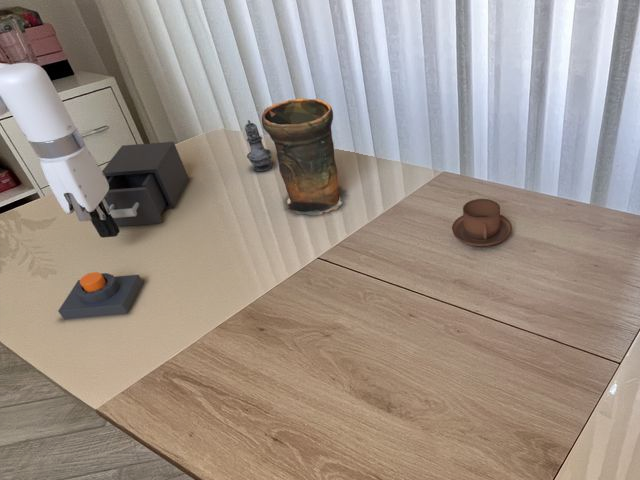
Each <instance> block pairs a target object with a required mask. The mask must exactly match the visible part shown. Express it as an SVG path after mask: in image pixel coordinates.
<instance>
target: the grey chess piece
mask: <svg viewBox="0 0 640 480" xmlns="http://www.w3.org/2000/svg"><path fill="white" fill-rule="evenodd" d="M244 131H245V134H246V137H247V139H246V142H247V143H248V145H249V147H250V152H249V153H247V155H246V158H247V159H248V161H249V162H250V163H251V164H252V165H253V167H252V171H253V172H255V173H266V172H269V171H272V169H273V168H274V166H275V165H274V164H273V163H271V161H272V153H273V152H272V150H270V149H266V148H265V147H264V144H263V141H262V140H263V137H262V136H261V134H260V132H259V129H258V126H257V125H256V123H253V122H251V120H249V119H247V123H246V124H245V125H244Z"/></svg>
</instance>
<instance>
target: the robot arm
mask: <svg viewBox="0 0 640 480" xmlns="http://www.w3.org/2000/svg"><path fill="white" fill-rule="evenodd" d="M8 112H10V114H11V115H12V118H13V119H14V121H15V122H16V124H17V125H18V127H19V129H20V130H21V132H22V134H23V135H24V137H25V138H26V140H27V141H28V143H29V145H30V147H31V148H32V150H33V152H34V153H35V154H36V156H37V158H38V159H39V160H40V161H39V164H40V168H41V170H42V172H43V175H44V177H45V179H46V182H47V183H48V185H49V187H50V189H51V191H52V193H53V195H54V197H55V199H56V200H57V202H58V204H59V205H60V207H61V209H62V210H63V212H64V213H65V214H67V215H71V214H73V213H74V212H75V214H76V217H77V219H78V221H79V222H80V223H82V222H91V223H92V225H93V227H94V229H95V231H96V232H97V233H98V235H99V237H100V238H115V237H118V235H119V233H120V232H121V230H120V228H119V226H117V225H116V223H115V221H114V219H113V217H112V216H111V214H109V213H110V209H109V206H108V204H107V202H106V198H107V195H108V190H109V184H108V182H107V180H106V178H105V176H104V174H103V172H102V171H103V169H101V167H100V165H99V164H98V162H97V160H96V158H95V157H94V155H93V154H92V152H91V151H90V149H89V147H87V144H86V143H85V141H84V138H83V137H82V136H81V133H80V132H79V130H78V128H77V127H76V124H75V123H74V120H73V118H72V117H71V115H70V113H69V112H68V110H67V108H66V106H65V104H64V102H63V100H62V99H61V96H60V95H59V93H58V92H57V89H56V88H55V85H54V84H53V82H52V80H51V78H50V75H48V73H47V71H46V70H45V69H44V68H43V67H42V66H41V65H39V64H36V63H33V62H16V63H12V64H9V63H4V62H3V63H1V62H0V117H1V116H3V115H5V114H7V113H8Z"/></svg>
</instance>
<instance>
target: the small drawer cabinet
mask: <svg viewBox="0 0 640 480" xmlns="http://www.w3.org/2000/svg"><path fill="white" fill-rule="evenodd" d="M102 172H103V174H104V176H105V178H106V180H108V179H109V177H110V176H117V175H130V174H143V173H154V174H155V176H156V178H157V180H158V182H159V184H160V187H161V189H162V191H163V193H164V195H165V197H166V200H167V204H166V206H165V208H164V210H170V209H175V207H176V206H177V204H178V202H179V200H180V198H181V196H182V194H183V193H184V191H185V189H186V186H187V185H188V184H189V181H190V178H189V175H188V172H187V169H185V165H184V163H183V161H182V158H181V156H180V154H179V151H178V149H177V146H176V145H175V142H174V141H164V142H149V143H137V144H124V145H123V144H122V145H121V146H120V147H119V149H118V150H117V151H116V153H115V154H114V155H113V157H112V158H111V159H110V160H109V161H108V163H107V164H106V166H105V167H104V168H103V169H102Z"/></svg>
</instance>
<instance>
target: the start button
mask: <svg viewBox="0 0 640 480" xmlns="http://www.w3.org/2000/svg"><path fill="white" fill-rule="evenodd" d="M79 280H80V284H81V285H82V287H83V288H84V290H85V291H87V292H91V291H96V290H98V289H101V288H102V287H104V286H105V285H106V281H105V279H104V277H103V276H102V274H101V272H98V271H95V272H90V273H87V274H85V275H83V276H82V277H81V278H79Z"/></svg>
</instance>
